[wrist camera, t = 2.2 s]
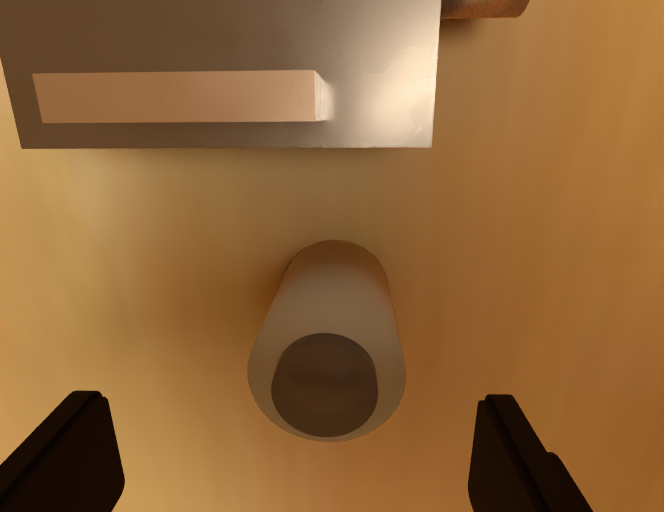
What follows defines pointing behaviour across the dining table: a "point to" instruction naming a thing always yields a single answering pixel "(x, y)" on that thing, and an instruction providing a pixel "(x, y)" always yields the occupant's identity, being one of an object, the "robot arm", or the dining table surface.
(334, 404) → the toy camera lens
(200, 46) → the box with side knob
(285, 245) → the dining table surface
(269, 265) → the dining table surface
